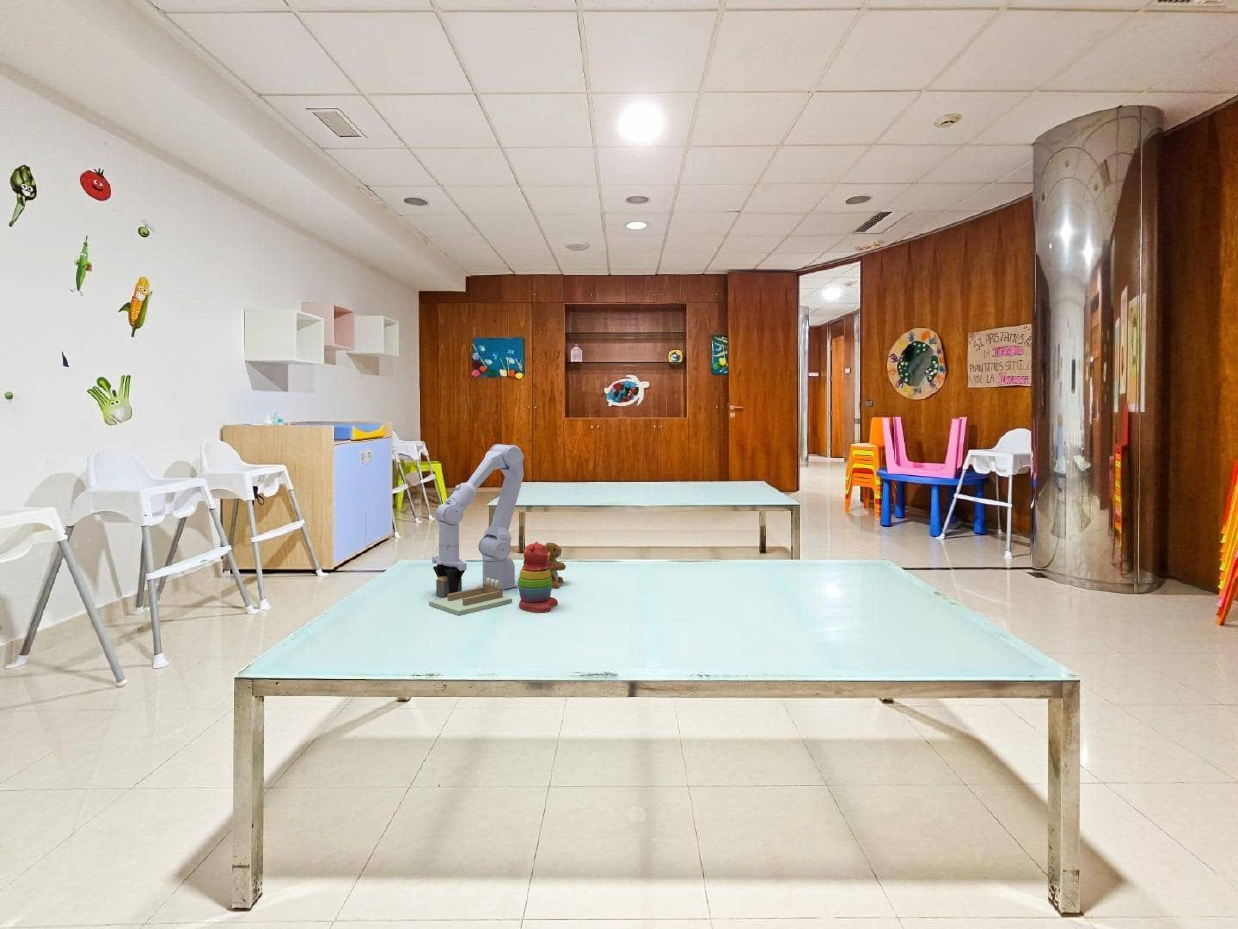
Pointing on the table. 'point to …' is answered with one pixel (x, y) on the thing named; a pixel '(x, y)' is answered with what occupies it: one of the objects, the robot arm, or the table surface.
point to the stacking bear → (536, 580)
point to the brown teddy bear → (554, 563)
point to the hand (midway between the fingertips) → (449, 591)
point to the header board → (473, 599)
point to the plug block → (444, 587)
